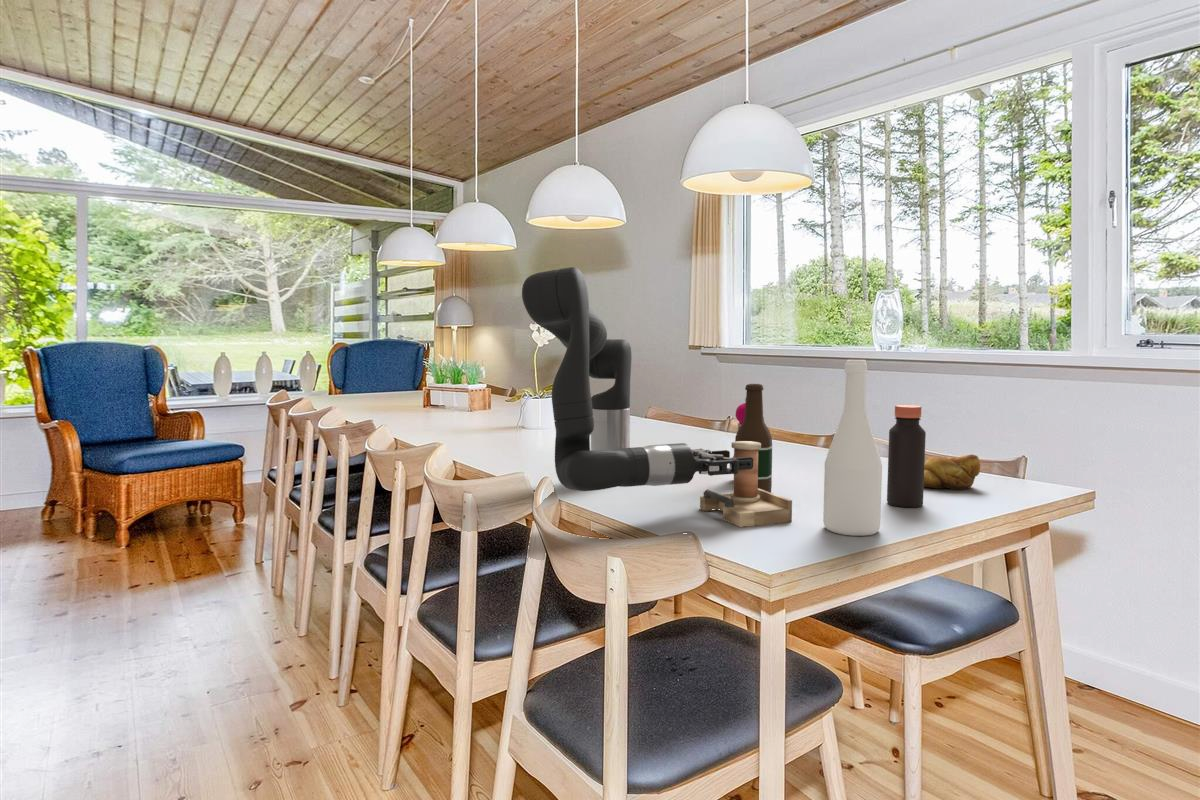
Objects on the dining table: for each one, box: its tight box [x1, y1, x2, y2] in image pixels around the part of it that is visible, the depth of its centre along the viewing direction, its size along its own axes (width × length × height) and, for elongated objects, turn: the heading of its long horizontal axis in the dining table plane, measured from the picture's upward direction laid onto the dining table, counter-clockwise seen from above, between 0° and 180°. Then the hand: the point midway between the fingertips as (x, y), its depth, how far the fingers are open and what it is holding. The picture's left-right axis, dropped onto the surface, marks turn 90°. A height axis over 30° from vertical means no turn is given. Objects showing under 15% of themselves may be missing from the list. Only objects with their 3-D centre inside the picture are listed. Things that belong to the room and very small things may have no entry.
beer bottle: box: [734, 383, 773, 493], centre depth 155 cm, size 8×8×24 cm
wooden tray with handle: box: [699, 488, 793, 528], centre depth 141 cm, size 15×11×4 cm
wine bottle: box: [822, 359, 883, 537], centre depth 129 cm, size 10×10×30 cm
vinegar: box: [886, 404, 927, 509], centre depth 148 cm, size 7×7×20 cm
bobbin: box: [730, 441, 761, 503], centre depth 142 cm, size 6×6×11 cm
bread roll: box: [924, 454, 981, 490], centre depth 166 cm, size 13×10×8 cm
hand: (740, 459), depth 142 cm, fingers open, 8 cm apart
